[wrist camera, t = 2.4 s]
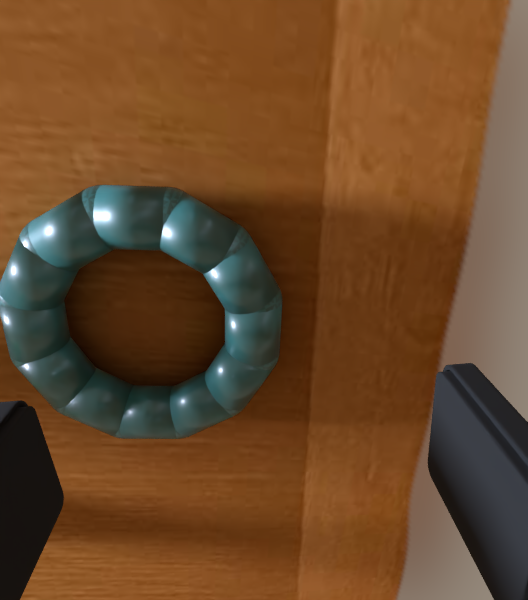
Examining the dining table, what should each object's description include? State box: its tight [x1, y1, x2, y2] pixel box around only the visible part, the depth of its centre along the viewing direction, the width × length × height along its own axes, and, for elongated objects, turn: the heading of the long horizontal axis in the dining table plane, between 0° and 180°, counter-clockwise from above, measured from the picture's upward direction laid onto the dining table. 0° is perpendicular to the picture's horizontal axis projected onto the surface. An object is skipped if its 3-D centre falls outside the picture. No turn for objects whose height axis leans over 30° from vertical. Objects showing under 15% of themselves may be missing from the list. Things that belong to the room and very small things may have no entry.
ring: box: [0, 185, 282, 439], centre depth 15 cm, size 10×10×2 cm
